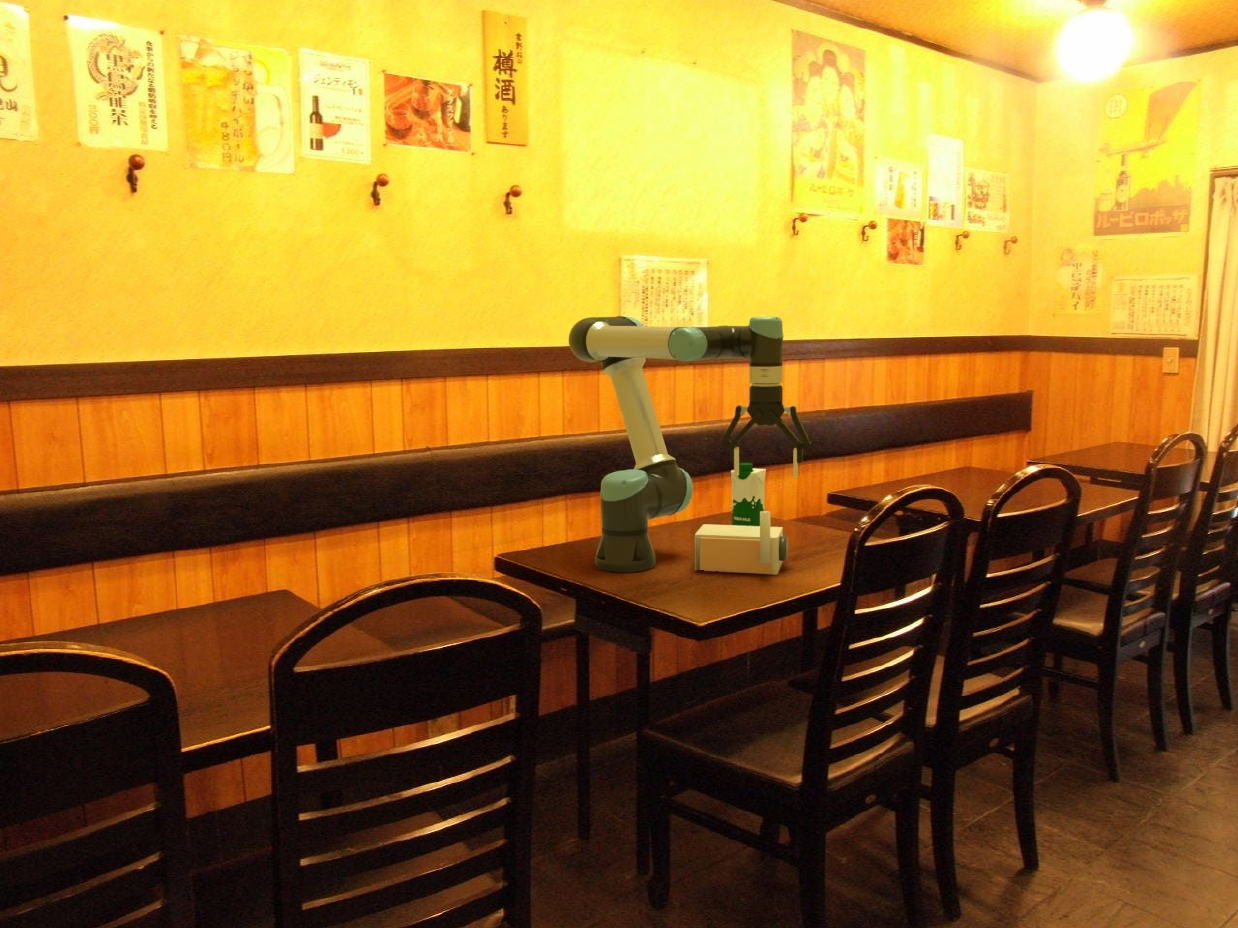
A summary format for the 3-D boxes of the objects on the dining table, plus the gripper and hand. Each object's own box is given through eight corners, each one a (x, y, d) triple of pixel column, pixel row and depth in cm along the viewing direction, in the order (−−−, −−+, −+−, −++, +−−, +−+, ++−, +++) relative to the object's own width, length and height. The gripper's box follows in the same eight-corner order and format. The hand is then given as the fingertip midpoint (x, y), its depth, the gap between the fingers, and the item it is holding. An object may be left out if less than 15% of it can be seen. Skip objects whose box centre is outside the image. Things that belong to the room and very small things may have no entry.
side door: (692, 573, 234) (692, 510, 232) (696, 568, 239) (695, 506, 237) (769, 577, 230) (769, 513, 227) (771, 572, 234) (772, 509, 232)
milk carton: (727, 533, 280) (727, 463, 277) (741, 527, 287) (741, 459, 284) (756, 536, 275) (756, 465, 272) (769, 530, 282) (769, 461, 279)
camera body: (694, 570, 239) (694, 534, 238) (703, 558, 251) (703, 524, 250) (784, 574, 234) (784, 538, 232) (788, 562, 245) (789, 527, 244)
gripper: (709, 386, 224) (709, 477, 227) (820, 385, 217) (819, 480, 221) (714, 383, 231) (715, 472, 234) (822, 383, 225) (821, 474, 228)
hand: (765, 476), depth 227 cm, fingers open, 13 cm apart
